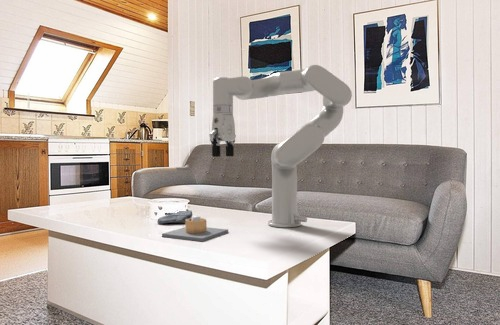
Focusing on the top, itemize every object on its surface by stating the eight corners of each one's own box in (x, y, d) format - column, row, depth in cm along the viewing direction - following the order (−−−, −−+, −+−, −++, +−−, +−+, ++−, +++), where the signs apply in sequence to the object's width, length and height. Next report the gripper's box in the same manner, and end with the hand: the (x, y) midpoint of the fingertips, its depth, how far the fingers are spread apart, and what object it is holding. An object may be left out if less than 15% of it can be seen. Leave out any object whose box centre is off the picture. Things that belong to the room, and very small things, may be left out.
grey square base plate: (228, 232, 140) (228, 215, 140) (202, 241, 126) (202, 222, 125) (190, 228, 147) (190, 212, 147) (162, 236, 133) (161, 218, 133)
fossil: (154, 226, 154) (154, 215, 154) (166, 217, 172) (166, 208, 172) (187, 226, 154) (187, 216, 154) (196, 218, 172) (196, 208, 171)
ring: (209, 230, 138) (209, 219, 138) (198, 234, 132) (198, 222, 132) (193, 228, 141) (193, 217, 141) (181, 232, 135) (181, 220, 135)
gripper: (219, 108, 142) (219, 156, 142) (242, 112, 157) (242, 156, 158) (201, 109, 145) (201, 156, 146) (226, 113, 161) (226, 156, 161)
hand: (223, 156), depth 152 cm, fingers open, 9 cm apart
